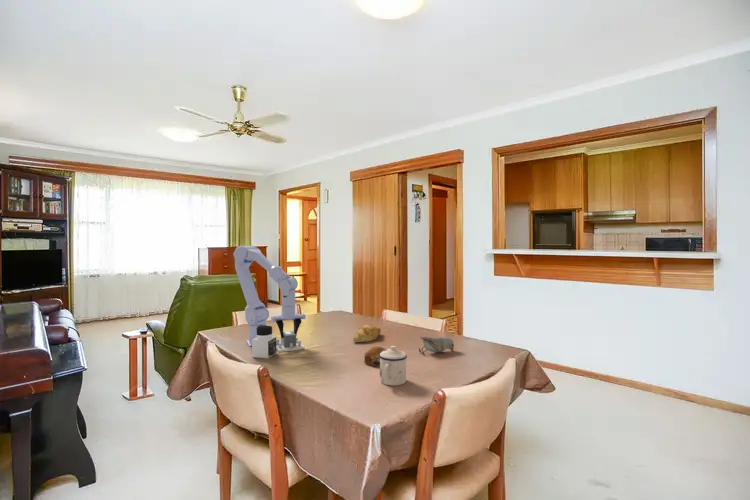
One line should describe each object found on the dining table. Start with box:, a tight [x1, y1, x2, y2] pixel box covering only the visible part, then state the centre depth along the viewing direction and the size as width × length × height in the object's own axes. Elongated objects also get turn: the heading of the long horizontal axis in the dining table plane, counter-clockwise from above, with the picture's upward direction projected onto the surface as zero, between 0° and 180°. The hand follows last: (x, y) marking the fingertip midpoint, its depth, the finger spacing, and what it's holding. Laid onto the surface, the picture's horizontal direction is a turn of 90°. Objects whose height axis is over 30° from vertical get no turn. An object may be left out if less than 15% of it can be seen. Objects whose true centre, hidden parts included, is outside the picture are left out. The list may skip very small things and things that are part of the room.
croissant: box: [352, 323, 382, 343], centre depth 185 cm, size 21×10×8 cm, turn 148°
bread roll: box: [364, 345, 387, 367], centre depth 150 cm, size 10×10×8 cm
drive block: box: [280, 330, 297, 348], centre depth 170 cm, size 7×5×5 cm
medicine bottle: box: [251, 324, 277, 359], centre depth 158 cm, size 7×7×12 cm
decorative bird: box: [418, 336, 455, 355], centre depth 163 cm, size 5×16×8 cm, turn 112°
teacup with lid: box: [379, 345, 408, 387], centre depth 129 cm, size 12×9×12 cm
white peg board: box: [276, 337, 305, 353], centre depth 170 cm, size 12×11×3 cm
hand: (288, 336), depth 170 cm, fingers closed on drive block, 5 cm apart
